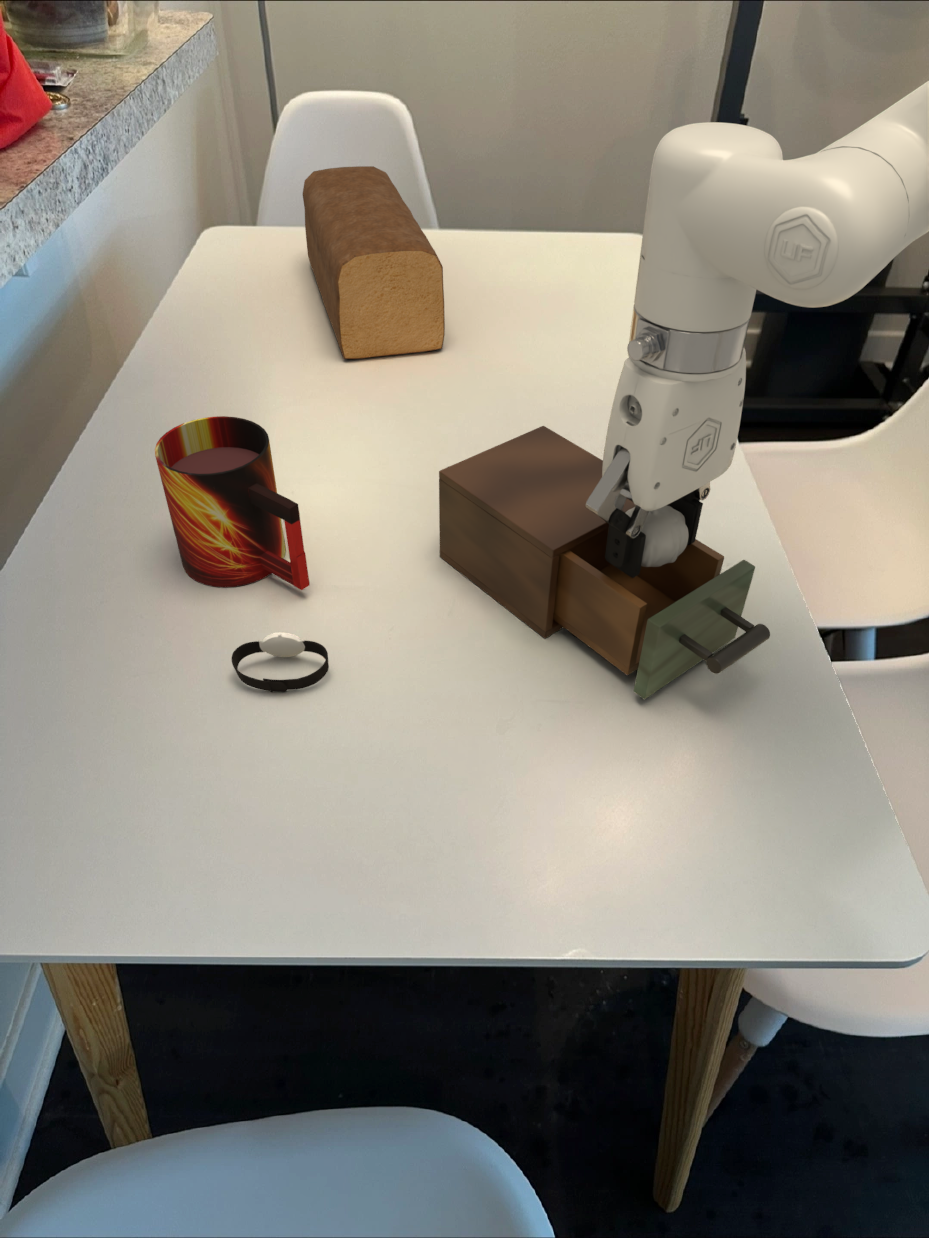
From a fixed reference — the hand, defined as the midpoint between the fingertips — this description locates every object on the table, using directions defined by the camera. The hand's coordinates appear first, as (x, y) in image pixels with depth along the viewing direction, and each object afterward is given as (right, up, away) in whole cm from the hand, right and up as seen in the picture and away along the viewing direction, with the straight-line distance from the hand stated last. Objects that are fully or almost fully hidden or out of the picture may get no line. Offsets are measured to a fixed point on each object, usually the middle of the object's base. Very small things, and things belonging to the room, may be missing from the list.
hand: (650, 550), depth 73 cm
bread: (-28, +39, +57) cm, 74 cm away
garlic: (0, -1, +1) cm, 1 cm away
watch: (-30, -10, +2) cm, 31 cm away
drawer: (+1, -7, +5) cm, 8 cm away
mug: (-34, 0, +14) cm, 37 cm away
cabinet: (-8, -1, +13) cm, 15 cm away
